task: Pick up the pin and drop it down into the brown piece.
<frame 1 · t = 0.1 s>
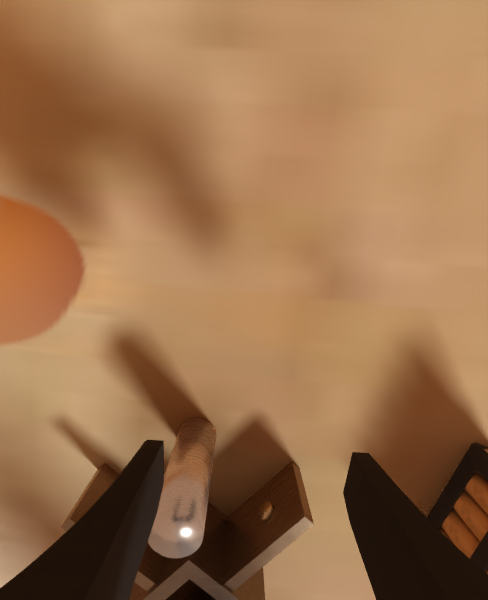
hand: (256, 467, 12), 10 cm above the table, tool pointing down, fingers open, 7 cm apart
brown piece: (201, 547, 25), on the table
pin: (197, 435, 23), on the table
ammunition clip: (447, 500, 25), on the table
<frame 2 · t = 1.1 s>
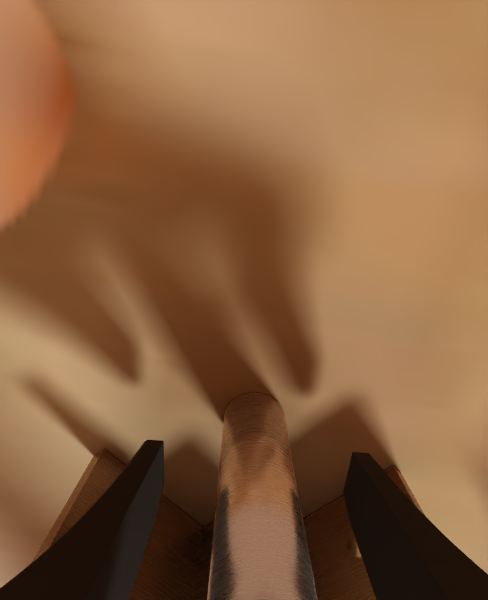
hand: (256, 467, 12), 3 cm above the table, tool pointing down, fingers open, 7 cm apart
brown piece: (239, 563, 18), on the table
pin: (254, 418, 15), on the table
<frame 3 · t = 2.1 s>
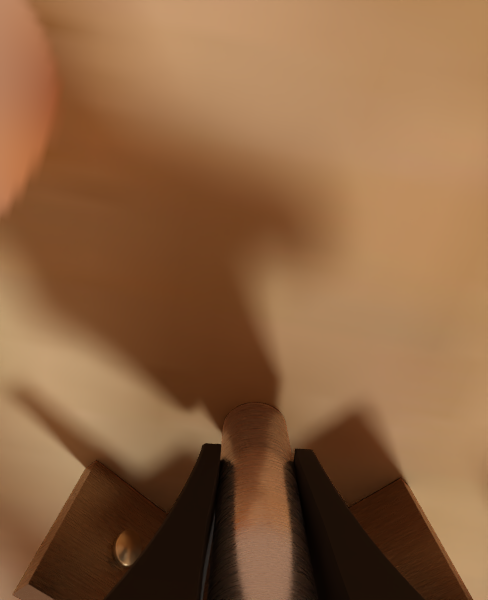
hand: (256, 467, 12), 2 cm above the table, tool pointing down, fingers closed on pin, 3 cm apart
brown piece: (239, 577, 17), on the table
pin: (254, 429, 14), on the table, touching gripper
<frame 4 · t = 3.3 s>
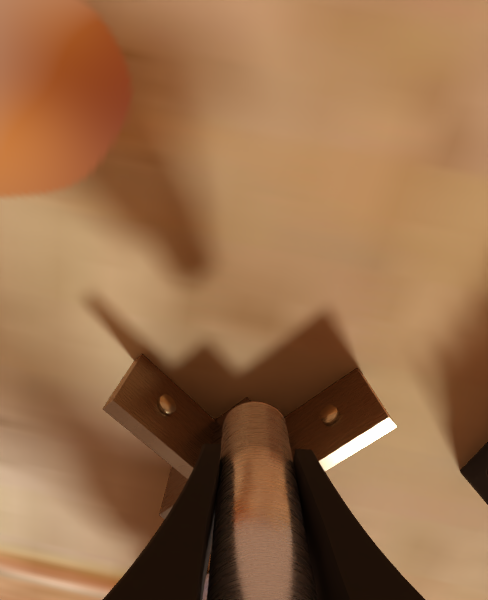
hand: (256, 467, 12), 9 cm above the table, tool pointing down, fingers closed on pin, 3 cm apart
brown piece: (242, 452, 23), on the table
pin: (254, 428, 14), point 7 cm above the table, touching gripper
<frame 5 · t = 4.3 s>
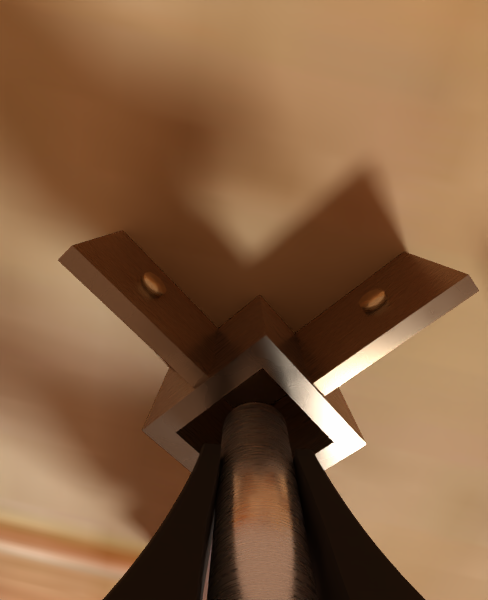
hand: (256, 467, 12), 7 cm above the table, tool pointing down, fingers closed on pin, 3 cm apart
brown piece: (252, 373, 18), on the table
pin: (254, 429, 14), point 5 cm above the table, touching gripper
when the fingers open (6 cm above the table, at t = 4.7 s): pin drops 4 cm, resting in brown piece.
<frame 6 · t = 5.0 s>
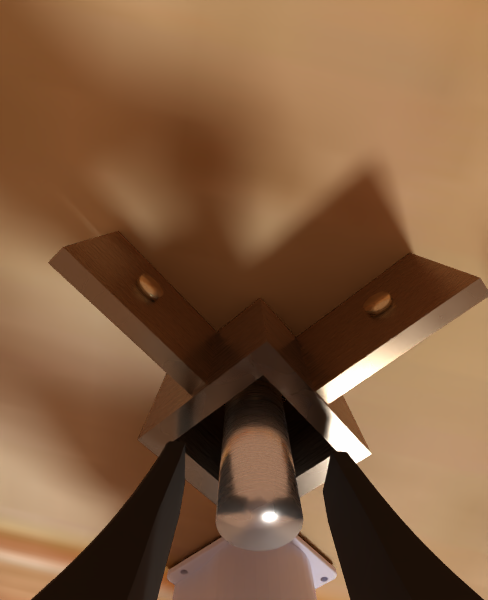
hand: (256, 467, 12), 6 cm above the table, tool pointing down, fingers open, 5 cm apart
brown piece: (252, 378, 18), on the table
pin: (252, 378, 18), resting in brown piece
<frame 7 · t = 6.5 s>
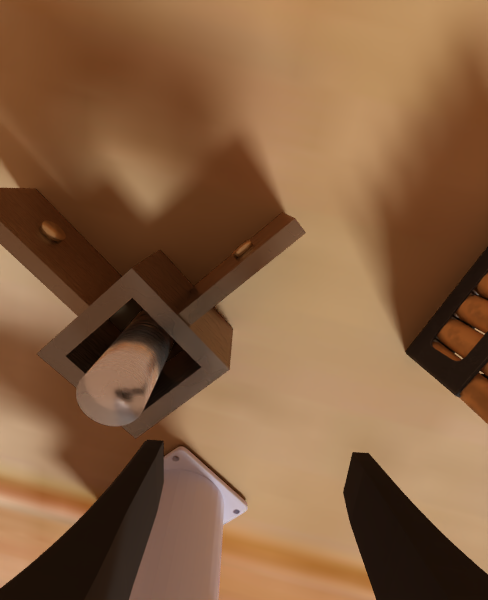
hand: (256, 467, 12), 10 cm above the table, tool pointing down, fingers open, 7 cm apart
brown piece: (159, 322, 20), on the table
pin: (159, 322, 20), resting in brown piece
ammunition clip: (466, 291, 20), on the table
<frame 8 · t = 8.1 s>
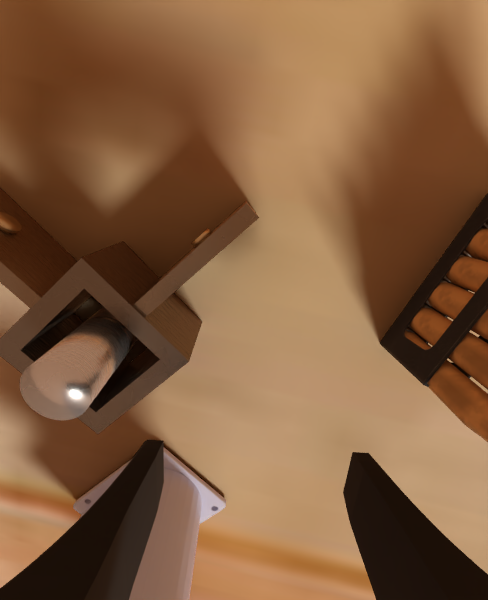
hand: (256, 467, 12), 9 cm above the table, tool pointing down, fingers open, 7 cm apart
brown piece: (126, 316, 20), on the table
pin: (127, 316, 20), resting in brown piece
ammunition clip: (439, 279, 19), on the table
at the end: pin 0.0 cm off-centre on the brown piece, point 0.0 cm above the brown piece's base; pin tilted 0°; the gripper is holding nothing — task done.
